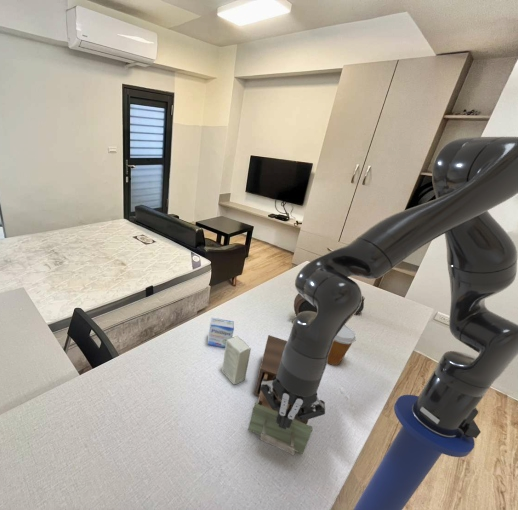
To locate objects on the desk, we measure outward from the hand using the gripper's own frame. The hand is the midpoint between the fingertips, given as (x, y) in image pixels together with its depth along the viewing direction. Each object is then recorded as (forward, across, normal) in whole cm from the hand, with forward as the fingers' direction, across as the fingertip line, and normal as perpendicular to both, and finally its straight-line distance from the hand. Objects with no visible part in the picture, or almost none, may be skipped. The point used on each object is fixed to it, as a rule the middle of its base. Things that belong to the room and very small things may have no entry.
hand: (282, 424), depth 60 cm
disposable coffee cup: (+10, +14, +42) cm, 45 cm away
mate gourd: (+10, +25, +81) cm, 85 cm away
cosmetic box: (+10, -14, +18) cm, 25 cm away
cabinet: (+10, 0, +22) cm, 24 cm away
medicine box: (+10, -22, +30) cm, 39 cm away
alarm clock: (+10, +7, +59) cm, 60 cm away
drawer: (+9, 0, +7) cm, 11 cm away
